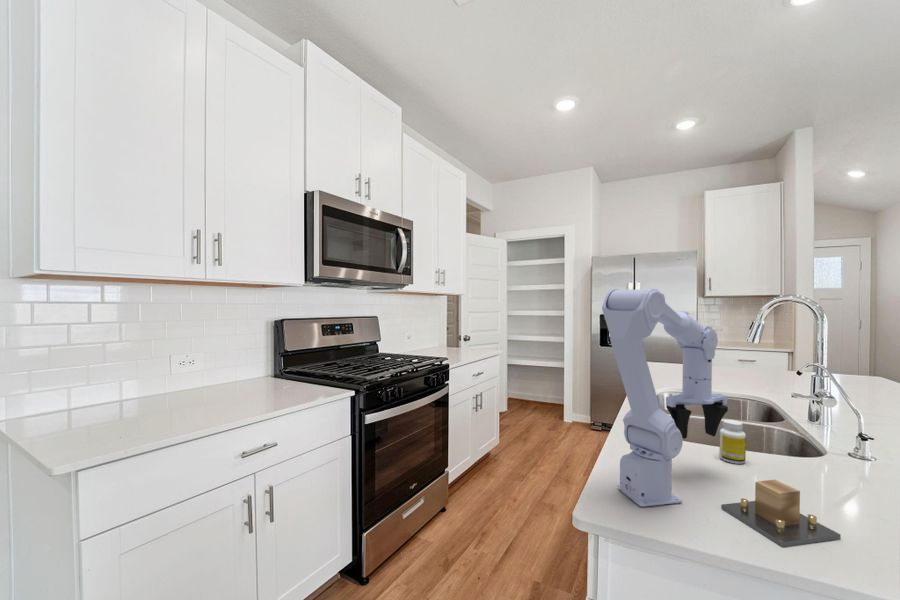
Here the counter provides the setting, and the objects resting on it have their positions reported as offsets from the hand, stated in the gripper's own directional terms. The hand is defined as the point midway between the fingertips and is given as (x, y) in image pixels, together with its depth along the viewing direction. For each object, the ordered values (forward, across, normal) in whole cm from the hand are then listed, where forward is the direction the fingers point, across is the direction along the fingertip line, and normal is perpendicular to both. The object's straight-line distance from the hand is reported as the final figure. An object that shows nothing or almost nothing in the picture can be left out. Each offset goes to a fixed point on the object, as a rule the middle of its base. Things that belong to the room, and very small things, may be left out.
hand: (696, 435), depth 92 cm
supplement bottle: (+10, +16, +6) cm, 20 cm away
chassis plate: (+9, 0, -19) cm, 21 cm away
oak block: (+9, 0, -19) cm, 21 cm away
